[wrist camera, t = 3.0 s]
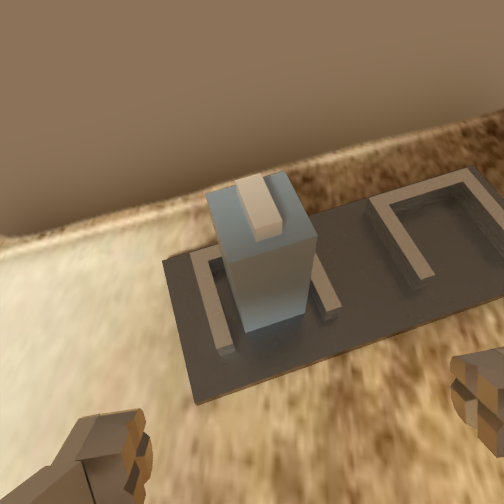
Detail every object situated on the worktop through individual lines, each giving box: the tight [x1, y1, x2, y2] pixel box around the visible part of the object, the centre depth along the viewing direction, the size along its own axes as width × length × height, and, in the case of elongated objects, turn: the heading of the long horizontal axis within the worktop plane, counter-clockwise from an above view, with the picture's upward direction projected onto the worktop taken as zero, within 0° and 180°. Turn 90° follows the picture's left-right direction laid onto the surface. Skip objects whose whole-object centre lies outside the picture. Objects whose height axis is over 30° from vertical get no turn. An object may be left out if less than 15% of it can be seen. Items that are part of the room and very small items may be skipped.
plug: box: [205, 171, 318, 333], centre depth 20 cm, size 4×4×10 cm
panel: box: [162, 165, 504, 406], centre depth 25 cm, size 25×10×2 cm, turn 108°
